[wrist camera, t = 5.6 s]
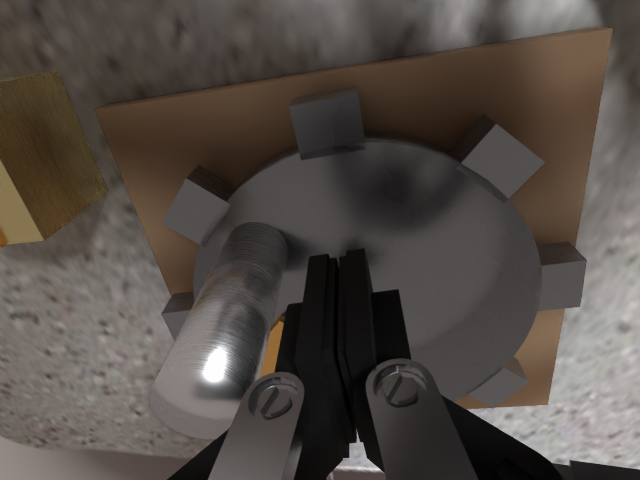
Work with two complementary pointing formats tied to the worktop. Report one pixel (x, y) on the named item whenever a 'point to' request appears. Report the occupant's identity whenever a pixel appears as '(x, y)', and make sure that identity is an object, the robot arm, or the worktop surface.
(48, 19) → the worktop surface
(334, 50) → the worktop surface
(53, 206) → the tan block with orange
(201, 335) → the sprocket
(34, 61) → the worktop surface
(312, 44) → the worktop surface
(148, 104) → the sprocket base
